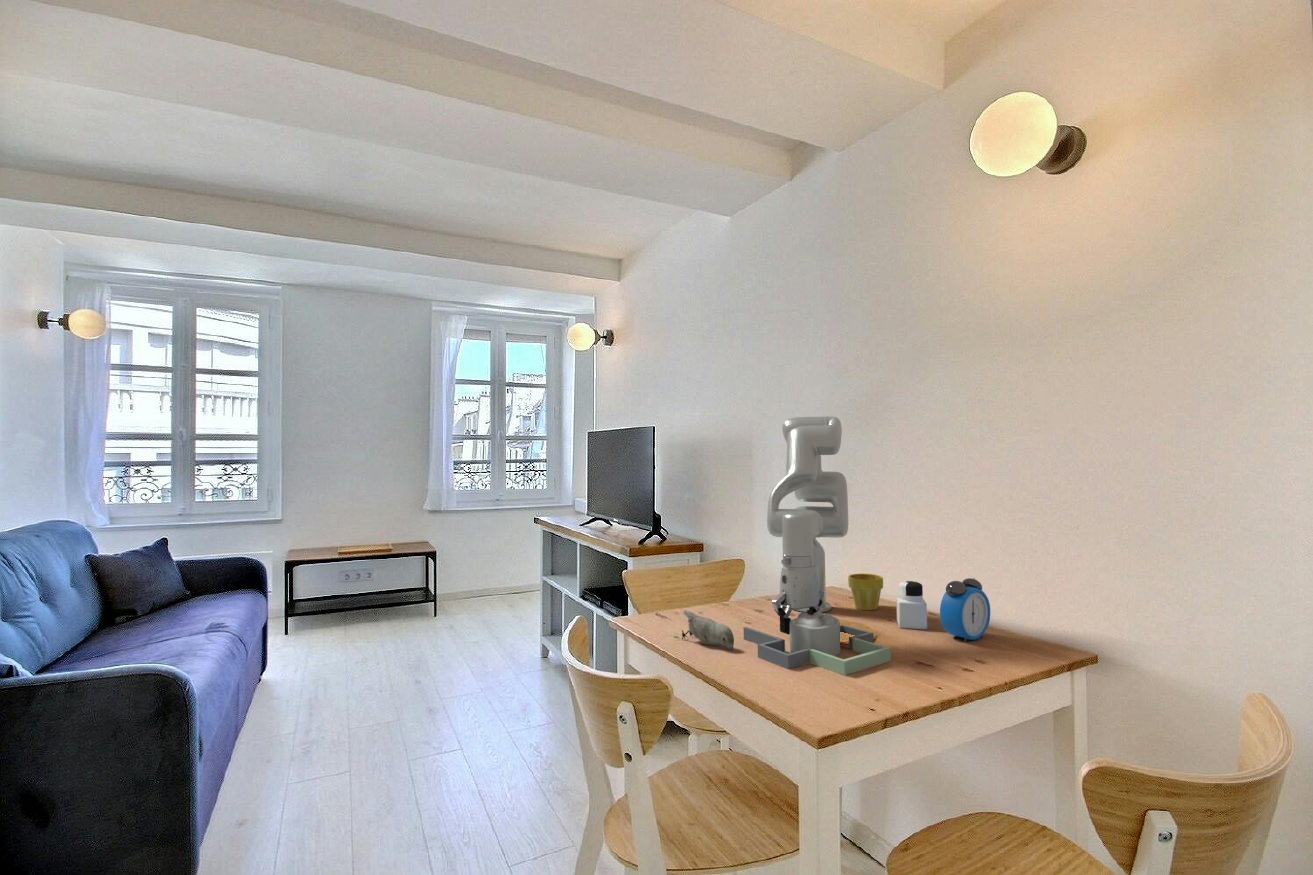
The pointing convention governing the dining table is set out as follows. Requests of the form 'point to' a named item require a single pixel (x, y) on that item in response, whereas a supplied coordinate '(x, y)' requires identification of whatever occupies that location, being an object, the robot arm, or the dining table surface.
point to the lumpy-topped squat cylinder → (815, 633)
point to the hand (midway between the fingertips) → (799, 629)
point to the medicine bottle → (911, 606)
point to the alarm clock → (965, 609)
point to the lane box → (861, 643)
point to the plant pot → (866, 590)
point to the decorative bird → (709, 630)
